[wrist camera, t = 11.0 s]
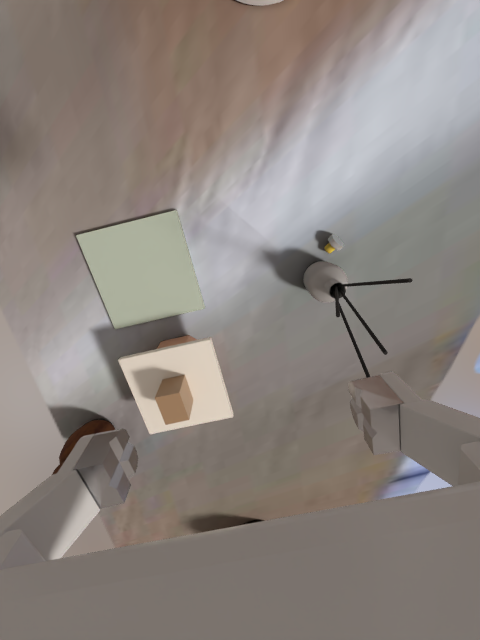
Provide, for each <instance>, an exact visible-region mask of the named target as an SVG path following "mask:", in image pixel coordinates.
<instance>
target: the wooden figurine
mask: <svg viewBox="0 0 480 640" xmlns="http://www.w3.org/2000/svg"><path fill="white" fill-rule="evenodd" d="M112 430H115V428H114V426H113V425H112V424H111V423H110V422H108V421H105V420H93V421H90V422H88V423H87V424H85V425H83V426H82V427H81V428H79V429H78V430H76V431H75V432H74V433H73V434H72V435H71V436H70V437H69V439H68V440H67V441H66V443H65V445H64V447H63V449H62V451H61V453H60V457H59V459H60V465H59V466H58V467H57V468H56V469H55V470H54V472H53V474H57V472H58V471H59V469H60V468H61V466H62V465H63V463H64V462H65V460H66V459H67V457H68V456H69V454H70V453H71V451H72V450H73V448H74V447H75V445H76V444H77V442H78V441H79V439H80V438H81V437H83V436H86V435H91V434H97V433H101V432H106V431H112ZM53 474H52V475H53Z"/></svg>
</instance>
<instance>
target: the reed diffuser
mask: <svg viewBox="0 0 480 640" xmlns="http://www.w3.org/2000/svg"><path fill="white" fill-rule="evenodd" d="M328 241H329V243H328V244H327V245H326V246H325V247H324V249H325V250H326V252H328V253H331V252H332V251H334V250H335V249H336V250H338V251H339V250H340V249H342V248H343V247H344V244H343V242H342V241H341V239H340V238H339V237H337V236H336V235H335V234H332V235H331V236H330V237H329V238H328ZM408 282H412V279H411V278H409V279H398V280H386V281H375V282H364V283H352V284H348V280H347V276H346V274H345V272H344V271H343V270H342V269H341V268H340V267H338V266H337V265H334V264H332V263H329V262H326V261H319V262H316V263H313V264H312V265H311V266H309V267H308V269H307V270H306V272H305V274H304V285H305V287H306V289H307V290H308V291H309V293H310V294H311V295H312V296H313V297H314V298H315V299H317V300H318V301H321V302H333V301H336V316H337V317H340V313H341V315H342V318H343V320H344V323H345V325H346V328H347V330H348V332H349V335H350V337H351V340H352V342H353V345H354V347H355V350H356V352H357V355H358V357H359V359H360V362H361V364H362V367H363V369H364V372H365V374H366V377H370V375H369V372H368V370H367V368H366V365H365V363H364V361H363V358H362V356H361V353H360V351H359V349H358V346H357V344H356V342H355V339H354V337H353V334H352V332H351V330H350V327H349V325H348V323H347V320H346V318H345V315H344V313H343V311H342V308H341V306H340V304H339V298H341V297H344V299H345V300H346V302H347V303H348V304H349V306H350V307H351V309H352V310H353V311H354V313H355V314H356V316H357V317H358V318H359V320H360V321H361V323H362V324H363V325H364V327H365V328H366V330H367V331H368V332H369V334H370V335H371V337H372V338H373V339H374V341H375V342H376V344H377V345H378V346H379V348H380V349H381V351H382V352H383V353H384V354H385V355H386V354H387V351H386V350H385V348H384V347H383V346H382V344H381V343H380V342H379V340H378V339H377V337H376V336H375V335H374V333H373V332H372V331H371V329H370V328H369V327H368V325H367V324H366V323H365V321H364V320H363V319H362V317H361V316H360V315H359V313H358V312H357V311H356V309H355V308H354V307H353V305H352V304H351V302H350V301H349V300H348V298H347V297H346V296H345V292H346V289H347V286H361V285H377V284H392V283H408Z"/></svg>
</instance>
